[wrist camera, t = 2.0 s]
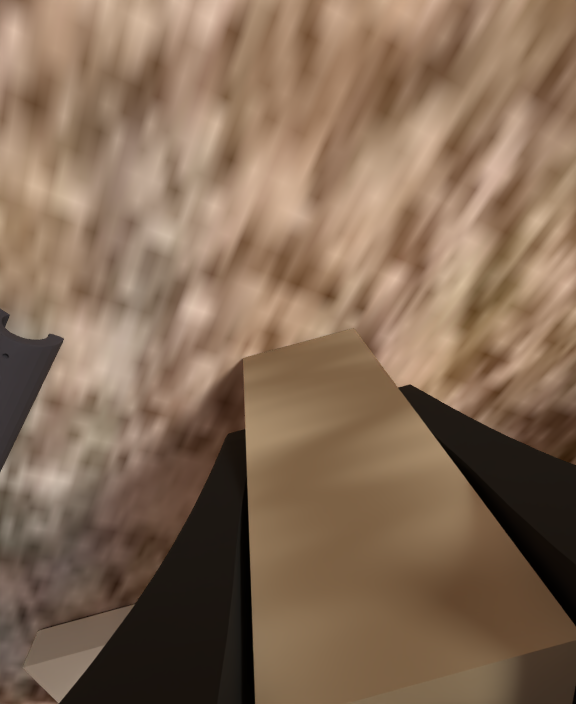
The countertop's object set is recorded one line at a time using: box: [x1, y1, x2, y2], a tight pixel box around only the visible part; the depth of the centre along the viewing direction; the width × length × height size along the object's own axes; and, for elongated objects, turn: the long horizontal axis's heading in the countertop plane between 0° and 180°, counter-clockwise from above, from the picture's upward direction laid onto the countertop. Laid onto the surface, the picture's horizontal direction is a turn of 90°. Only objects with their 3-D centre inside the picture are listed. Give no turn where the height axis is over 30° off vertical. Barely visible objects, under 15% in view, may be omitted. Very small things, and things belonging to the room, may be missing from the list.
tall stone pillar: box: [243, 328, 576, 704], centre depth 8 cm, size 3×3×8 cm
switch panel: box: [22, 604, 135, 703], centre depth 17 cm, size 20×14×1 cm
